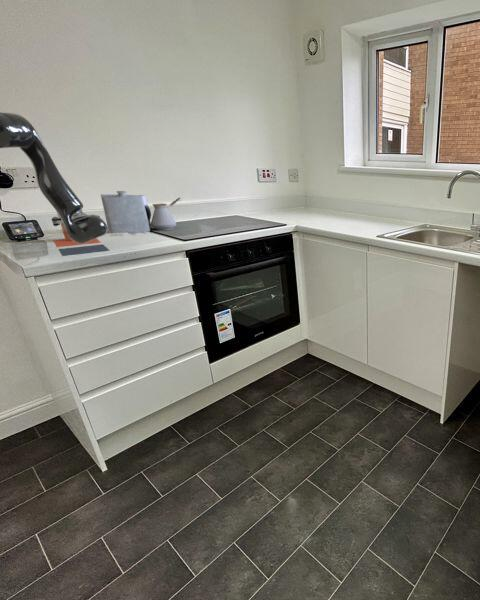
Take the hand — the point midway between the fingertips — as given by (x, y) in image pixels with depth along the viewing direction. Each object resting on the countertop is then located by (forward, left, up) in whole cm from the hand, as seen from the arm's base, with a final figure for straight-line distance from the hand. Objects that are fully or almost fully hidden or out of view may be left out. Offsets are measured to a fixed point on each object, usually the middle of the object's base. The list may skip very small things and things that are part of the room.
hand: (73, 217), depth 137 cm
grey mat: (0, -2, -13) cm, 13 cm away
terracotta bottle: (0, +22, -12) cm, 25 cm away
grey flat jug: (+24, +39, -13) cm, 47 cm away
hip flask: (+22, +30, -13) cm, 39 cm away
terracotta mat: (0, +17, -13) cm, 21 cm away
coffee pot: (+41, +34, -13) cm, 54 cm away
